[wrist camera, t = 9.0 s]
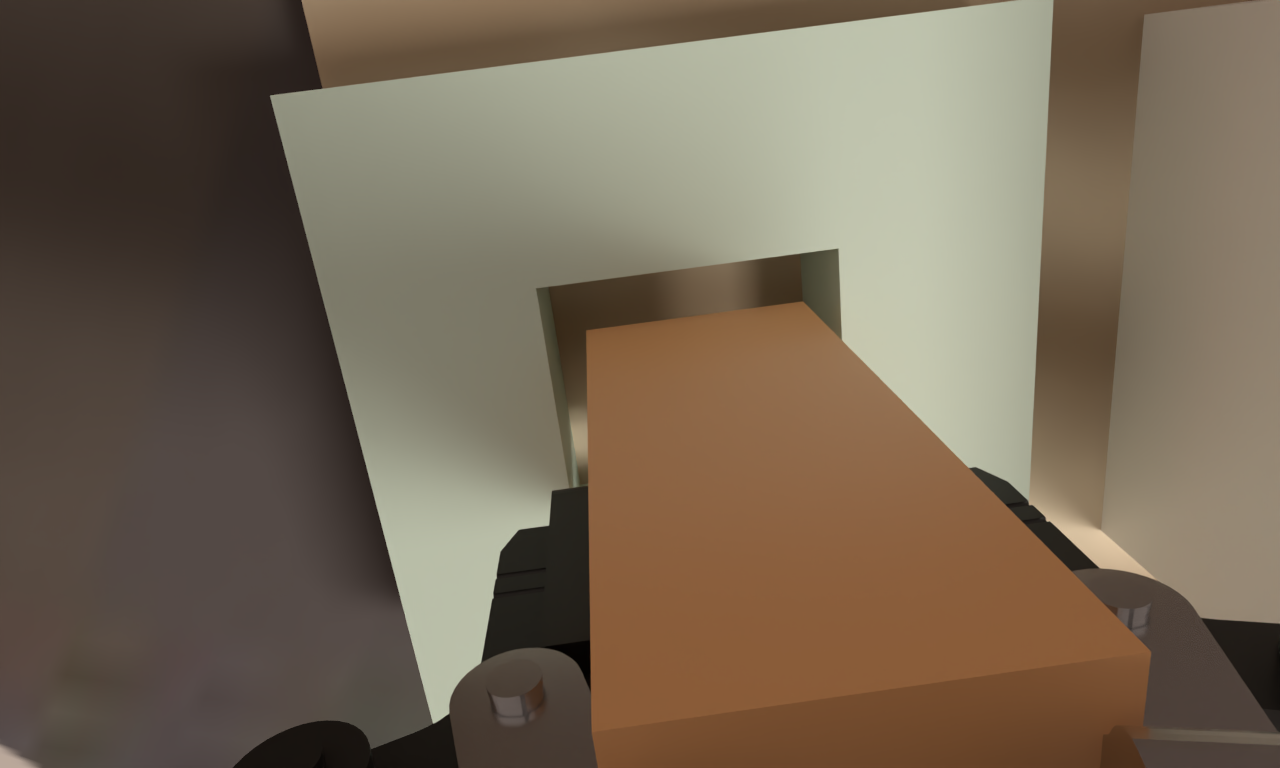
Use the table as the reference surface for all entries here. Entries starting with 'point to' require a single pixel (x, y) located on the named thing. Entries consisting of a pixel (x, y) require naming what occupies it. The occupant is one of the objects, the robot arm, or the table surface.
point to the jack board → (757, 3)
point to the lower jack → (663, 250)
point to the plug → (819, 571)
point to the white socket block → (1202, 315)
